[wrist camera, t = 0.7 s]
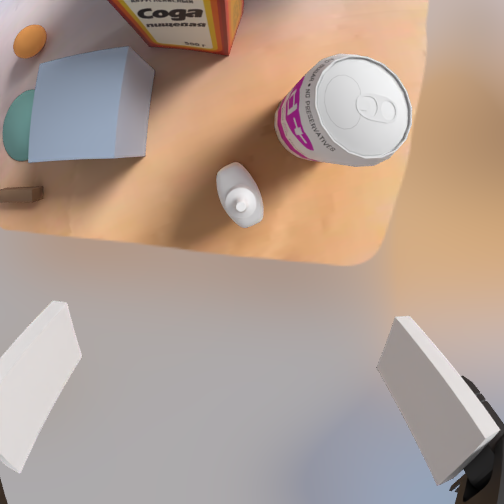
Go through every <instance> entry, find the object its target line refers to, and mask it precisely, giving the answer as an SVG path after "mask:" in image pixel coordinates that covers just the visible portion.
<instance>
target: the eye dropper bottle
mask: <svg viewBox="0 0 504 504" xmlns="http://www.w3.org/2000/svg"><path fill="white" fill-rule="evenodd" d="M216 183H217V191H218V195H219V199H220V201H221V204H222V206H223V208H224V210H225V211H226V213H227V214H228V215H229V217H230V218H231V219H232V220H233V221H234V222H235V223H236V224H238V225H239V226H240V227H243V228H247V227H250V226H252V225H254V224H257V223H259V222H260V221H261V220H262V218H263V201H262V197H261V194H260V191H259V189H258V187H257V185H256V183H255V181H254V180H253V178H252V176H251V175H250V173H249V172H248V171H247V170H246V169H245V167H244V166H242V165H241V164H240V163H238V162H233V163H231V164H229V165H227V166H225V167H223V168H222V169H221V170H220V171H219V172H218V173H217V177H216Z"/></svg>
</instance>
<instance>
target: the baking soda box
mask: <svg viewBox="0 0 504 504" xmlns="http://www.w3.org/2000/svg"><path fill="white" fill-rule="evenodd" d="M108 1H109V3H110V4H111V5H112V6H113V7H114V8H115V9H116V10H117V11H118V12H119V13H120V14H121V15H122V16H123V18H124V19H125V20H126V21H127V22H128V23H129V24H130V25H131V26H132V28H133V29H134V30H135V31H136V32H137V33H138V34H139V35H140V36H141V38H142V39H143V40H144V41H145V42H146V43H147V44H148V46H149V47H163V48H175V49H185V50H194V51H201V52H208V53H215V54H221V55H227V56H229V54H230V50H231V47H232V44H233V41H234V38H235V35H236V32H237V29H238V26H239V23H240V20H241V17H242V14H243V7H244V0H108Z"/></svg>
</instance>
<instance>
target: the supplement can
mask: <svg viewBox="0 0 504 504" xmlns="http://www.w3.org/2000/svg"><path fill="white" fill-rule="evenodd" d="M411 125H412V107H411V103H410V100H409V96H408V93H407V90H406V89H405V87H404V86H403V84H402V82H401V81H400V79H399V78H398V76H397V75H396V74H395V73H394V72H392V71H391V70H390V69H389V68H388V67H387V66H385V65H384V64H383V63H381V62H378V61H376V60H374V59H371V58H369V57H365V56H360V55H352V54H337V55H334V56H331V57H327V58H324V59H322V60H321V61H319V62H318V63H317V64H316V65H315V66H314V67H313V68H312V69H310V70H309V71H308V72H307V73H306V74H305V76H304V77H303V78H302V79H301V80H300V81H299V82H298V83H297V84H296V85H295V86H294V88H293V89H292V90H291V91H290V92H289V93H288V94H287V95H286V96H285V98H284V99H283V100H282V101H281V102H280V104H279V106H278V108H277V110H276V113H275V120H274V128H275V131H276V134H277V137H278V140H279V141H280V142H281V144H282V145H283V146H284V148H285V149H286V150H287V151H289V152H290V153H292V154H293V155H295V156H296V157H298V158H302V159H306V160H309V161H318V162H326V163H333V164H340V165H347V166H354V167H359V166H374V165H376V164H378V163H380V162H382V161H384V160H387V159H389V158H390V157H391V156H392V155H393V154H394V152H395V151H396V150H397V149H398V148H399V147H400V146H401V145H402V144H403V143H404V141H405V140H406V139H407V136H408V133H409V130H410V128H411Z"/></svg>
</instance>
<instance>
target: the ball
mask: <svg viewBox="0 0 504 504" xmlns="http://www.w3.org/2000/svg"><path fill="white" fill-rule="evenodd" d="M45 42H46V31H45V29H44V28H43V27H42V26H40V25H30V26H27V27H26V28H24V29H23V30H21V31H20V32H19V34H18V35H17V36H16V38H15V41H14V45H13V48H14V52H15V54H16V55H17V56H18V57H20V58H30V57H32V56H34V55H36V54H37V53H38V52H39V51H40V50H41V49H42V48H43V46H44V45H45Z"/></svg>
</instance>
